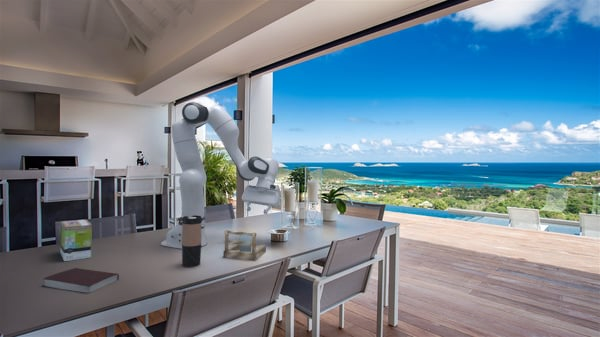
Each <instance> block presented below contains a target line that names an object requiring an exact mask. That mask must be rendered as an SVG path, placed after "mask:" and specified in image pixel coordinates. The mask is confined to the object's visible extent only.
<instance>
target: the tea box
mask: <svg viewBox="0 0 600 337" xmlns="http://www.w3.org/2000/svg"><path fill="white" fill-rule="evenodd" d="M92 226H93V225H92V223H91V222H89V220H87V219H77V220H76V219H75V220H64V221H63V220H62V221H61V222H60V251H59V253H60V255H61V257H62V261H64V262H69V261H77V260H84V259H90V258H91V257H92V228H93V227H92Z"/></svg>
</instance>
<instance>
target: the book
mask: <svg viewBox="0 0 600 337" xmlns="http://www.w3.org/2000/svg"><path fill="white" fill-rule="evenodd" d="M119 277H120V274H119V273H115V272H109V271H108V272H107V271H102V270H100V271H99V270H93V269H84V268H79V267H73V268H71V269H67V270H64V271H60V272H57V273H53V274H52V275H49V276H46V277H44V278H43V280H44V284H43V285H42V286H43V287H44V288H45V287H46V288H50V289H51V288H52V289H60V290H66V291H67V290H68V291H74V292H81V293H86V294H91V293H93V292H95V291H97V290H99V289H101V288H103V287H106V286H107V285H111V283H114V282H116V281H119Z"/></svg>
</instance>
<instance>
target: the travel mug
mask: <svg viewBox="0 0 600 337" xmlns="http://www.w3.org/2000/svg"><path fill="white" fill-rule="evenodd" d="M201 255H202V246H201V216H197V215H193V216H192V217H187V216H184V217H183V224H182V249H181V265H182V267H185V268H194V267H198V266H200V265H201V257H202V256H201Z"/></svg>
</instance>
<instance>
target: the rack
mask: <svg viewBox="0 0 600 337" xmlns="http://www.w3.org/2000/svg"><path fill="white" fill-rule="evenodd" d="M229 235H236V236H237V235H239V236H240V235H248V236H252V242H243V241H240V240H231V239H230V238H229V237H230V236H229ZM229 239H230V240H229ZM229 244H230V245H231V246H229ZM240 245H249V246H251V252H244V251H239V246H240ZM256 247H257V232H252V231H251V232H250V231H241V230H240V231H237V230H226V229H225V230H224V250H223V253H222V254H223V258H225V259H233V258H234V260H242V261H243V260H245V261H256V260H258V259H259V258H260V257H261V256H262V255H263V254H264V253H266V250H267V249H266V248H267V245H266V244H265V245H264V244H261V245H260V246H259V247H257V248H256Z"/></svg>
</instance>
